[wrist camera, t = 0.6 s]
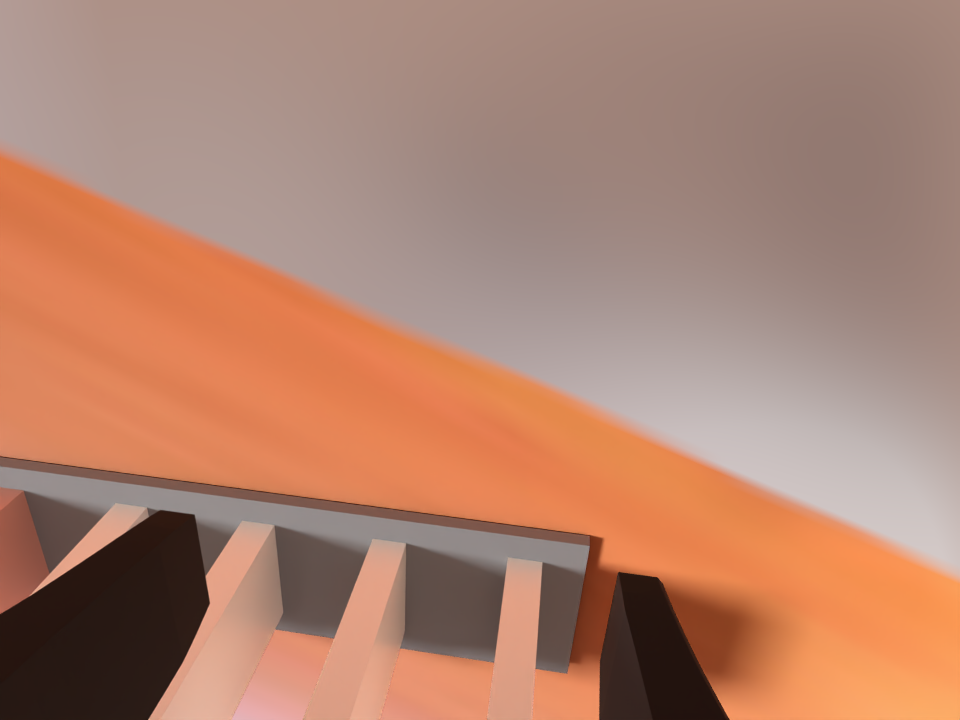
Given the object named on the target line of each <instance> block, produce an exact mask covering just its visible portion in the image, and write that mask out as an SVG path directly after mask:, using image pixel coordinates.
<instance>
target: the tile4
mask: <svg viewBox="0 0 960 720" xmlns="http://www.w3.org/2000/svg"><path fill="white" fill-rule="evenodd" d="M148 517H149V515H148V510H147V507H139V506H132V505H125V504H118V503H115V505H114V506H113V507H112V508H111V509H110V510H109V511H108V512H107V513H106V514H105V515H104V516H103V517H102V518H101V520H100V521H99V522H98V523H97V524H96V525H95V526H94V527H93V528H92V529H91V530H90V531H89V532H88V533H87V535H86V536H85V537H84V538H83V539H82V540H81V541H80V542H79V543H78V544H77V545H76V546H75V547H74V549H73V550H72V551H71V552H70V553H69V554H68V555H67V556H66V557H65V558H64V559H63V560H62V561H61V562H60V564H59V565H58V566H57V567H56V568H55V569H54V570H53V571H52V572H51V573H50V574H49V575H48V576H47V578H46V579H45V580H44V581H43V582H42V583H41V584H40V585H39V586H38V587H37V588H36V589H35V590H34V591H33V593H32V594H34V593H35V592H37V591H38V590H40V589H41V588H43V587H44V586H46V585H47V584H49V583H50V582H52V581H53V580H55V579H56V578H58V577H60V576H61V575H63V574H64V573H66V572H67V571H69V570H70V569H72V568H73V567H75V566H76V565H78V564H79V563H81V562H82V561H84V560H85V559H87V558H88V557H90V556H91V555H93V554H94V553H96V552H97V551H99V550H100V549H102V548H103V547H105V546H106V545H108V544H109V543H110V542H112V541H113V540H115V539H116V538H118V537H119V536H121V535H122V534H124V533H125V532H127V531H128V530H130V529H131V528H133V527H134V526H136V525H137V524H139V523H140V522H142V521H143V520H145V519H146V518H148ZM32 594H31V595H32ZM31 595H30V596H31Z"/></svg>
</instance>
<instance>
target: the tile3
mask: <svg viewBox="0 0 960 720" xmlns="http://www.w3.org/2000/svg"><path fill="white" fill-rule="evenodd" d="M206 582H207V588H208V594H209V599H210V605H209V607H208V609H207V611H206V614H205V616H204V618H203V620H202V623H201V625H200V627H199V630H198V632H197V634H196V636H195V638H194V640H193V643H192V645H191V647H190V649H189V651H188V653H187V655H186V657H185V659H184V661H183V663H182V665H181V667H180V668H179V670H178V672H177V673H176V675H175V677H174V678H173V680H172V682H171V683H170V685H169V687H168V688H167V690H166V692H165V693H164V695H163V696H162V698H161V700H160V701H159V703H158V705H157V706H156V708H155V710H154V711H153V713H152V714H151V716H150V718H149V719H148V720H231V719H232V717H233V715H234V713H235V711H236V709H237V707H238V705H239V703H240V701H241V699H242V697H243V695H244V693H245V690H246V688H247V686H248V684H249V682H250V680H251V678H252V676H253V674H254V672H255V670H256V668H257V666H258V664H259V662H260V660H261V658H262V656H263V654H264V651H265V649H266V647H267V645H268V643H269V641H270V639H271V637H272V635H273V633H274V631H275V629H276V627H277V625H278V623H279V621H280V619H281V617H282V615H283V605H282V595H281V585H280V575H279V566H278V556H277V546H276V536H275V526H274V525H270V524H263V523H255V522H248V521H242V522H241V523H240V525H239V526H238V528H237V529H236V531H235V532H234V534H233V535H232V537H231V538H230V540H229V542H228V543H227V545H226V546H225V548H224V549H223V551H222V552H221V554H220V555H219V557H218V558H217V560H216V561H215V563H214V564H213V566H212V567H211V569H210V571H209V572H208V574H207V575H206Z"/></svg>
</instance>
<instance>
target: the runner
mask: <svg viewBox="0 0 960 720" xmlns="http://www.w3.org/2000/svg"><path fill="white" fill-rule="evenodd" d="M0 487H2V488H9V489H16V490H24V494H25V497H26V500H27V503H28V506H29V510H30V513H31V516H32V519H33V522H34V526H35V529H36V532H37V535H38V538H39V542H40V545H41V548H42V551H43V554H44V558H45V561H46V564H47V567H48V570H49V574H50V573H51V572H52V571H53V570H54V569H55V568H56V567H57V566H58V565H59V564H60V562H61V561H62V560H63V559H64V558H65V557H66V556H67V555H68V554H69V553H70V552H71V551H72V550H73V549H74V547H75V546H76V545H77V544H78V543H79V542H80V541H81V540H82V539H83V538H84V537H85V536H86V535H87V533H88V532H89V531H90V530H91V529H92V528H93V527H94V526H95V525H96V524H97V523H98V522H99V521H100V520H101V518H102V517H103V516H104V515H105V514H106V513H107V512H108V511H109V510H110V509H111V508H112V507H113V506H114V505H115V503H118V504H125V505H132V506H139V507H147V510H148V515H149V517H150V516H151V515H153V514H154V513H156V512H158V511H159V510H166V511H173V512H180V513H188V514H195V518H196V524H197V530H198V536H199V541H200V547H201V553H202V559H203V565H204V570H205V576H206V575H207V574H208V572H209V571H210V569H211V567H212V566H213V564H214V563H215V561H216V560H217V558H218V557H219V555H220V554H221V552H222V551H223V549H224V548H225V546H226V545H227V543H228V542H229V540H230V538H231V537H232V535H233V534H234V532H235V531H236V529H237V528H238V526H239V525H240V523H241V522H242V521H248V522H255V523H263V524H270V525H274V526H275V536H276V546H277V556H278V566H279V575H280V585H281V595H282V605H283V615H282V617H281V619H280V621H279V623H278V625H277V627H276V630H282V631H289V632H296V633H302V634H309V635H315V636H322V637H329V638H335V635H336V633H337V630H338V627H339V625H340V622H341V620H342V617H343V614H344V612H345V609H346V607H347V604H348V602H349V599H350V596H351V594H352V591H353V589H354V586H355V583H356V581H357V578H358V576H359V573H360V571H361V568H362V565H363V563H364V560H365V558H366V555H367V552H368V550H369V547H370V545H371V542H372V539H378V540H386V541H393V542H400V543H406V590H405V632H404V636H403V640H402V643H401V647H400V648H401V649H408V650H415V651H421V652H428V653H434V654H441V655H448V656H454V657H461V658H468V659H474V660H481V661H487V662H494V661H495V654H496V646H497V638H498V630H499V623H500V615H501V607H502V599H503V592H504V584H505V576H506V568H507V561H508V557H509V558H516V559H523V560H530V561H538V562H542V576H541V591H540V607H539V622H538V637H537V652H536V667H535V669H540V670H547V671H554V672H560V673H567V672H568V666H569V661H570V655H571V649H572V644H573V638H574V632H575V627H576V621H577V616H578V610H579V604H580V599H581V593H582V588H583V582H584V576H585V571H586V565H587V559H588V554H589V548H590V536H587V535H579V534H572V533H564V532H557V531H549V530H542V529H534V528H527V527H519V526H512V525H504V524H497V523H489V522H482V521H474V520H467V519H459V518H452V517H445V516H437V515H430V514H422V513H415V512H407V511H400V510H392V509H385V508H377V507H370V506H362V505H355V504H347V503H340V502H332V501H325V500H317V499H310V498H303V497H295V496H288V495H280V494H273V493H265V492H258V491H250V490H243V489H235V488H228V487H220V486H213V485H205V484H198V483H190V482H183V481H175V480H168V479H160V478H153V477H146V476H138V475H131V474H123V473H116V472H108V471H101V470H93V469H86V468H78V467H71V466H63V465H56V464H48V463H41V462H33V461H26V460H18V459H11V458H4V457H0Z"/></svg>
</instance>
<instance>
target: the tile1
mask: <svg viewBox="0 0 960 720" xmlns="http://www.w3.org/2000/svg"><path fill="white" fill-rule="evenodd" d="M541 576H542V562H538V561H530V560H523V559H516V558H509V557H508V561H507V568H506V576H505V584H504V592H503V599H502V607H501V615H500V623H499V630H498V638H497V646H496V654H495V661H494V669H493V677H492V685H491V692H490V700H489V708H488V716H487V720H532V713H533V697H534V682H535V667H536V652H537V637H538V622H539V607H540V591H541Z"/></svg>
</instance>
